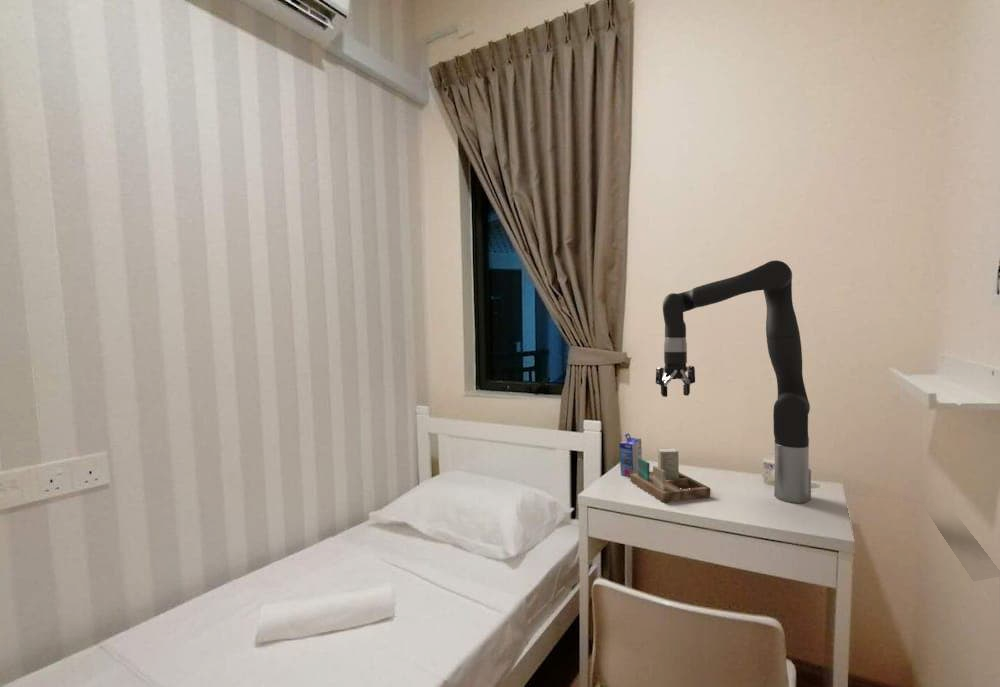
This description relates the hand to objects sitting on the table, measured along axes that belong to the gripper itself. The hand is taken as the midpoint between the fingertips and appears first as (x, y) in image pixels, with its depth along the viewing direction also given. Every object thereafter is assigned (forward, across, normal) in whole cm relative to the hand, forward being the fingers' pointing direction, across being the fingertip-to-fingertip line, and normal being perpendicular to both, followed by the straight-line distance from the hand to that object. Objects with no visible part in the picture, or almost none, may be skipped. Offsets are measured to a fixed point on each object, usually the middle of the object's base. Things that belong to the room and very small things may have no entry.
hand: (675, 395), depth 173 cm
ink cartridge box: (+30, -11, +12) cm, 34 cm away
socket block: (+30, -8, -8) cm, 32 cm away
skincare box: (+30, -5, -3) cm, 31 cm away
